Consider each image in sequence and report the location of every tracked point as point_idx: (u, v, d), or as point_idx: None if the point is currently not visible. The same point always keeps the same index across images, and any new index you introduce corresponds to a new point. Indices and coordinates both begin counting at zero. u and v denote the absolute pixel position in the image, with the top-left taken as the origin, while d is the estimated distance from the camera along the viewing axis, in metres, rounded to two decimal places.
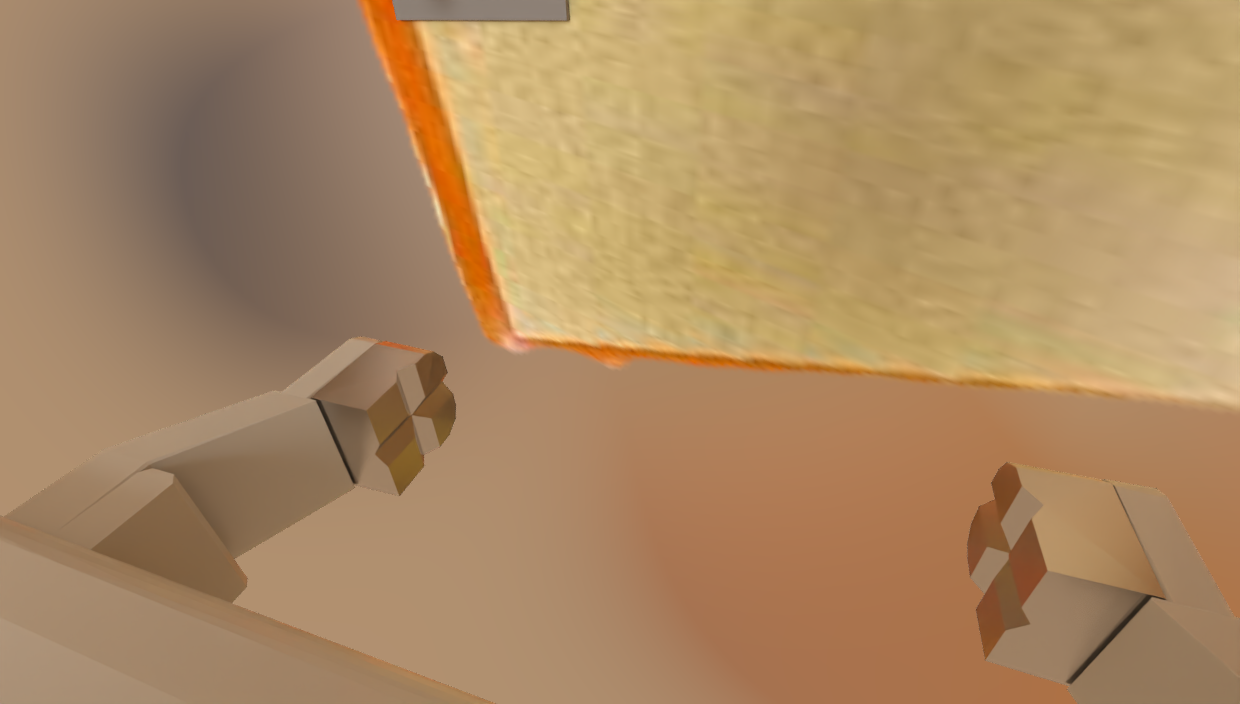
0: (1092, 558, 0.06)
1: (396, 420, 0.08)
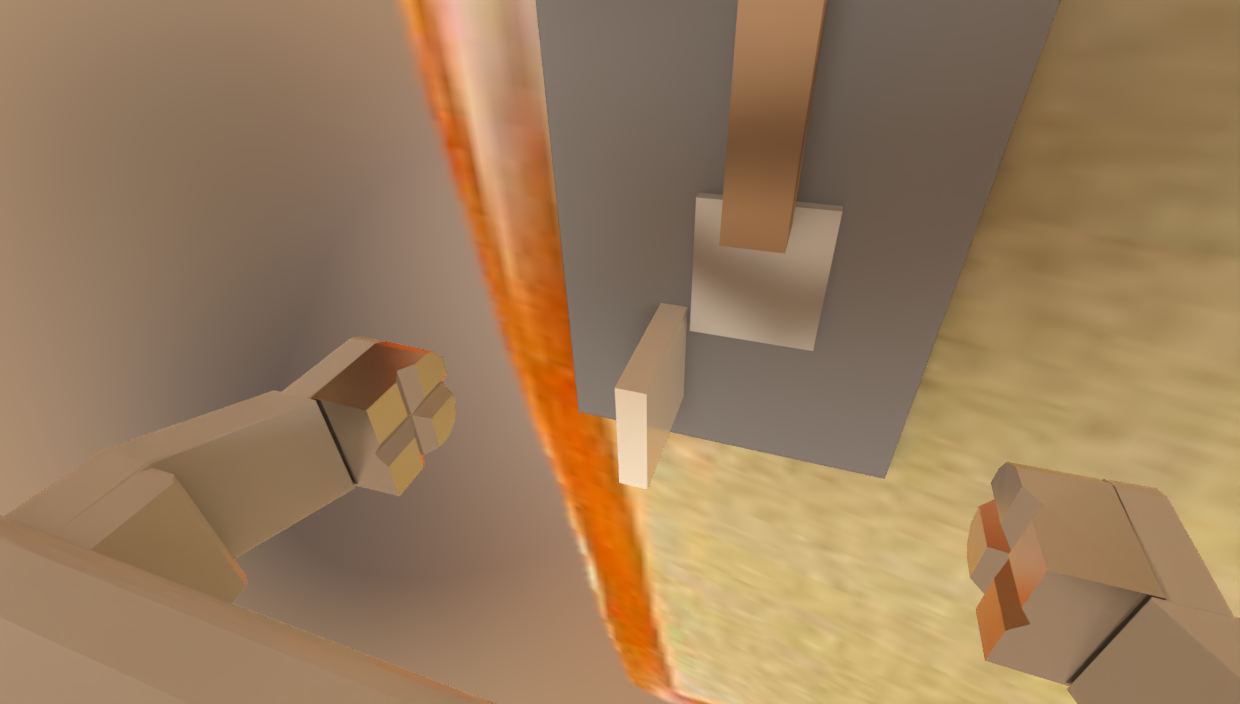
0: (1093, 558, 0.06)
1: (396, 420, 0.08)
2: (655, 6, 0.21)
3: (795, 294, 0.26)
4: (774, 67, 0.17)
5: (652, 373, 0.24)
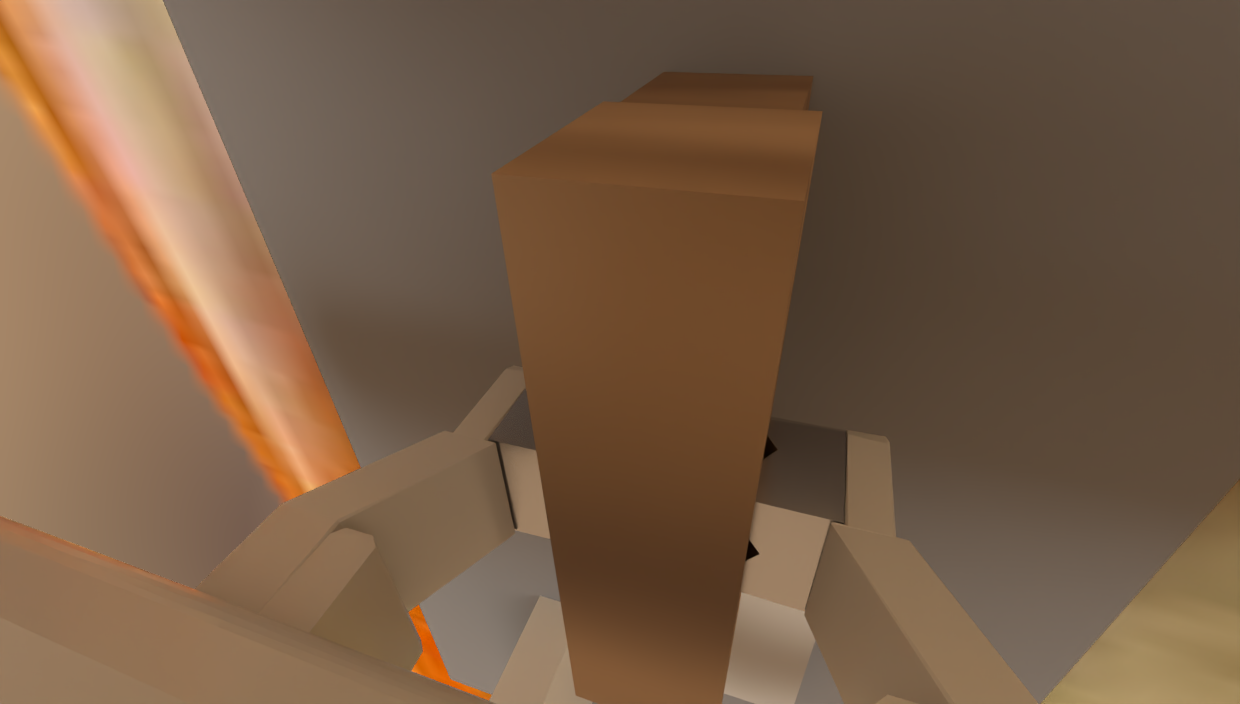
0: (797, 491, 0.06)
1: None
2: (440, 175, 0.10)
3: (756, 646, 0.14)
4: (644, 464, 0.06)
5: None
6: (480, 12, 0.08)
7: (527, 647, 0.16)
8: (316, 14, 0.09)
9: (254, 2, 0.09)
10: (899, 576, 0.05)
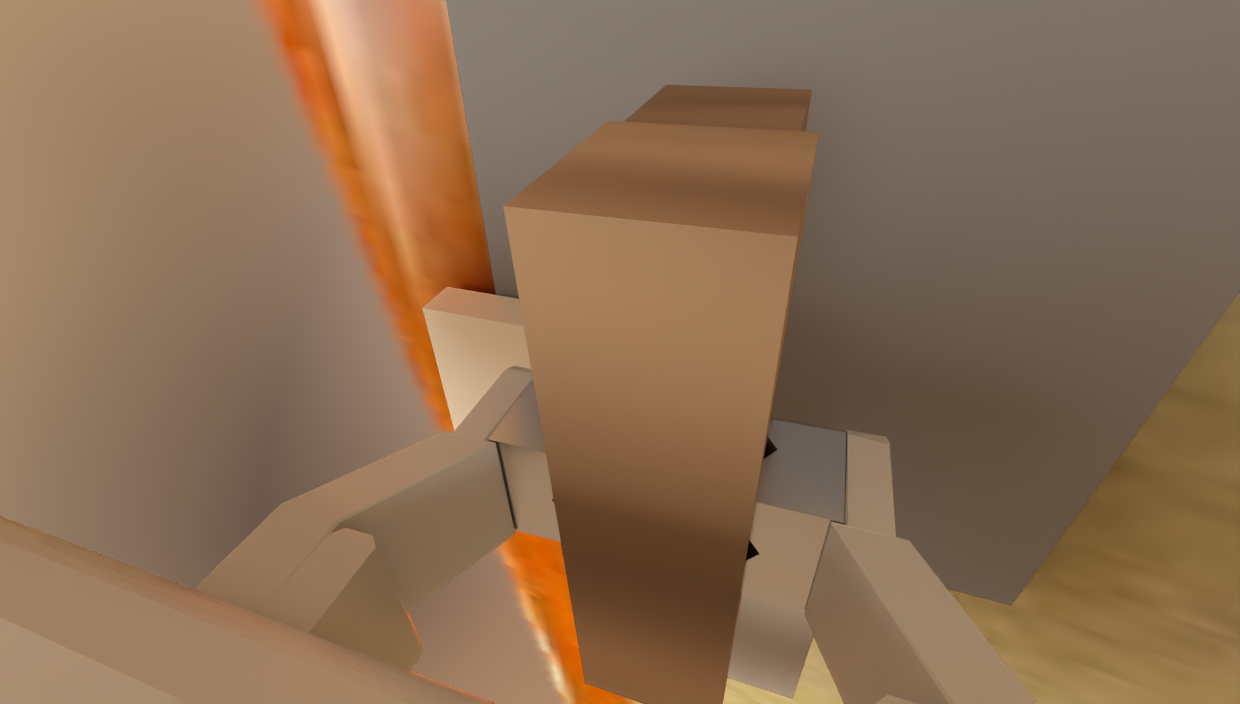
0: (797, 491, 0.06)
1: None
2: None
3: (759, 634, 0.15)
4: (649, 472, 0.06)
5: (462, 312, 0.18)
6: None
7: None
8: None
9: None
10: (898, 576, 0.05)
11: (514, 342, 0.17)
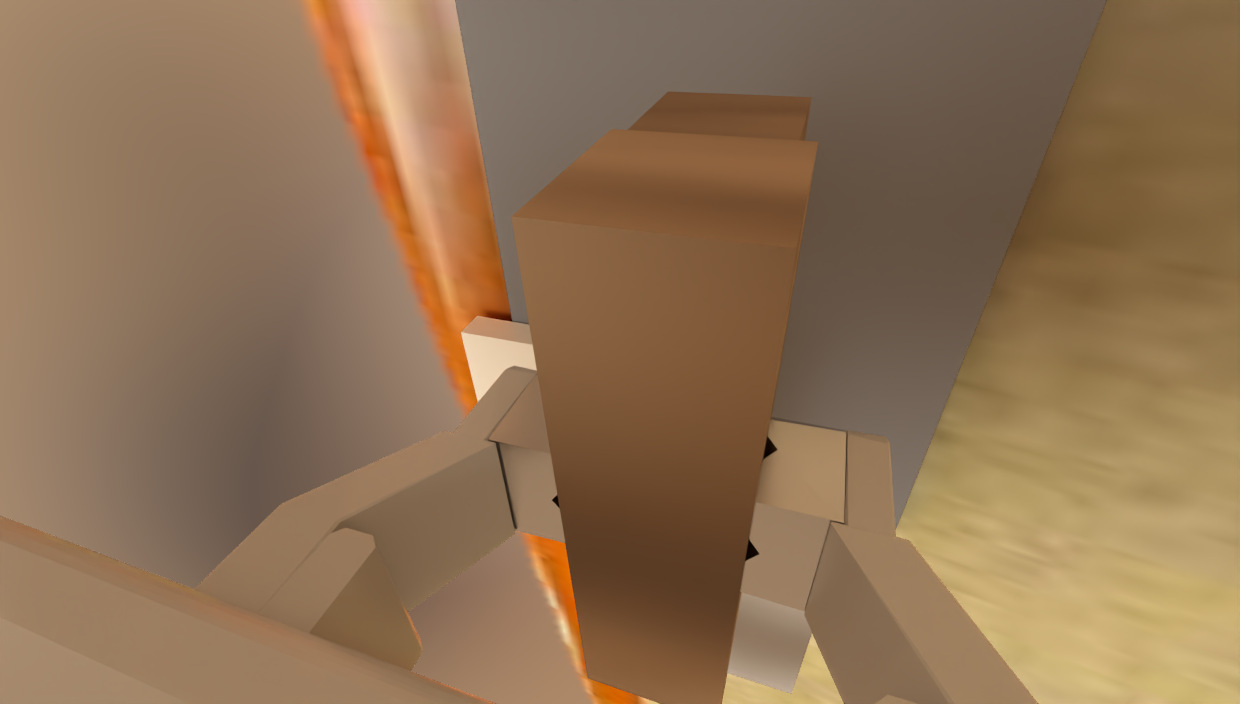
0: (797, 491, 0.06)
1: None
2: None
3: (758, 630, 0.15)
4: (652, 473, 0.06)
5: (489, 334, 0.25)
6: None
7: None
8: None
9: None
10: (899, 576, 0.05)
11: (526, 355, 0.25)
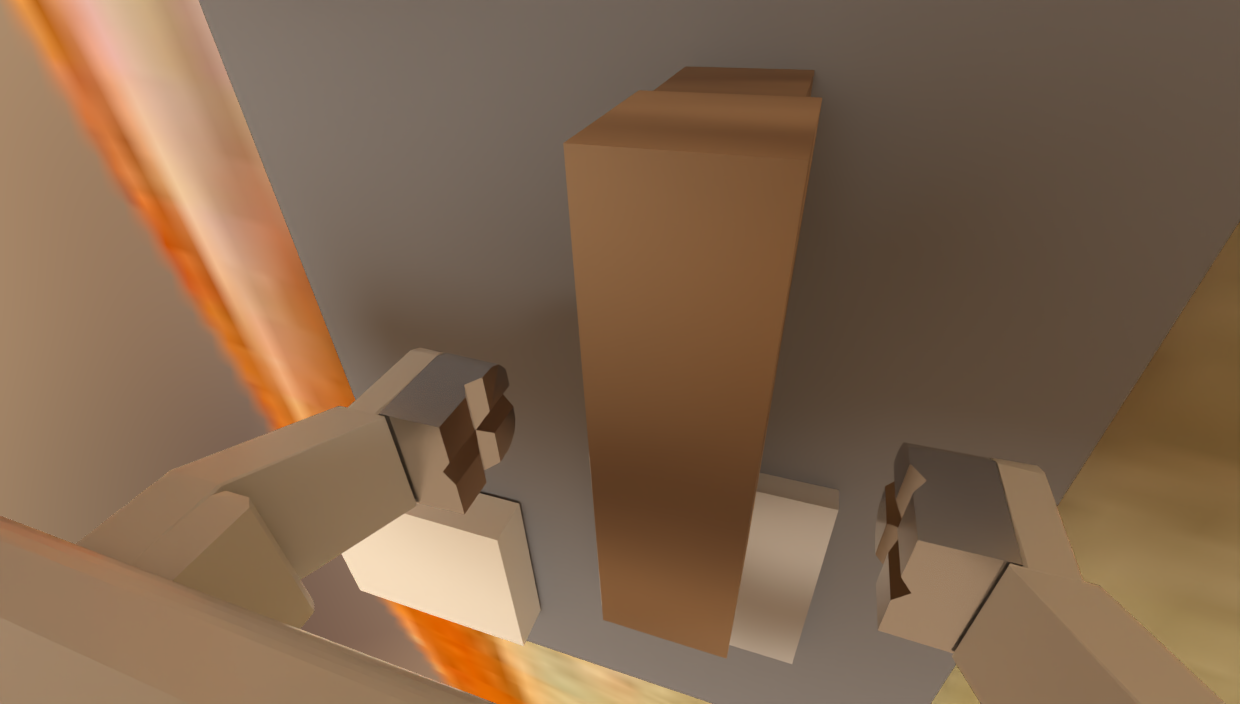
0: (961, 529, 0.06)
1: (464, 436, 0.08)
2: (411, 15, 0.10)
3: (761, 596, 0.15)
4: (675, 388, 0.07)
5: None
6: None
7: None
8: None
9: None
10: (1103, 628, 0.05)
11: (392, 522, 0.18)
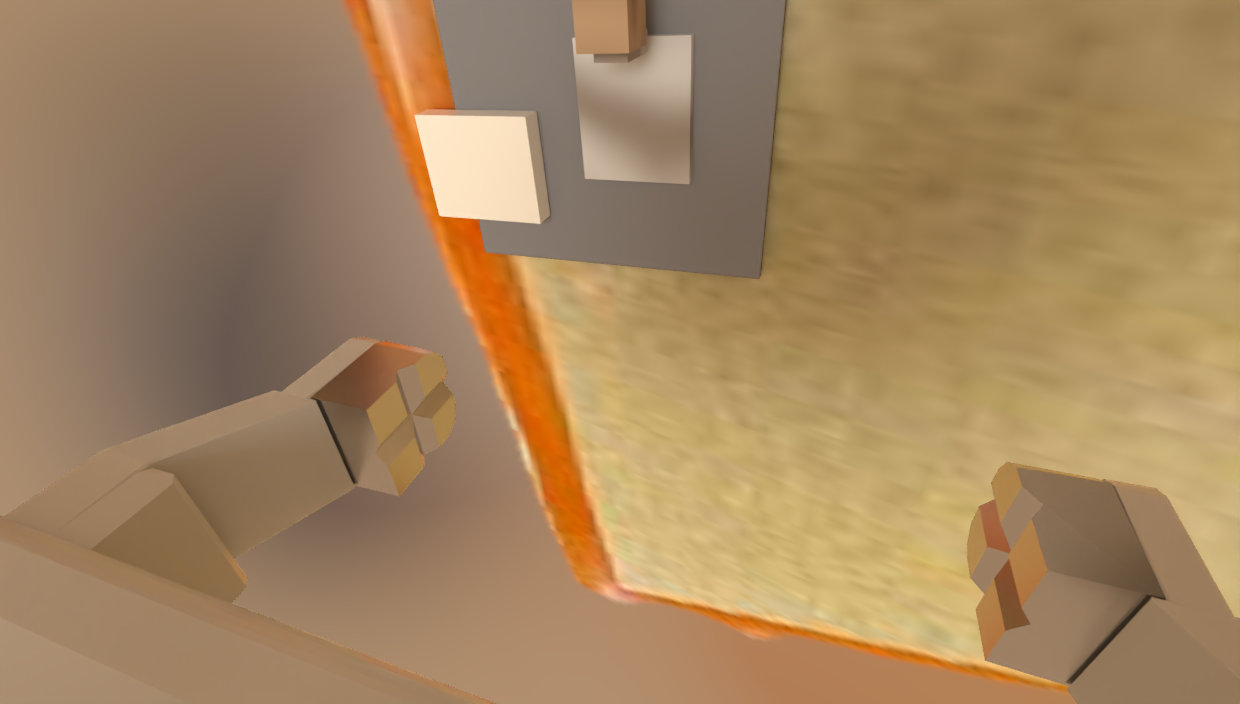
0: (1092, 558, 0.06)
1: (396, 420, 0.08)
2: None
3: (666, 126, 0.29)
4: None
5: (436, 114, 0.32)
6: None
7: (508, 111, 0.31)
8: None
9: None
10: None
11: (464, 128, 0.32)
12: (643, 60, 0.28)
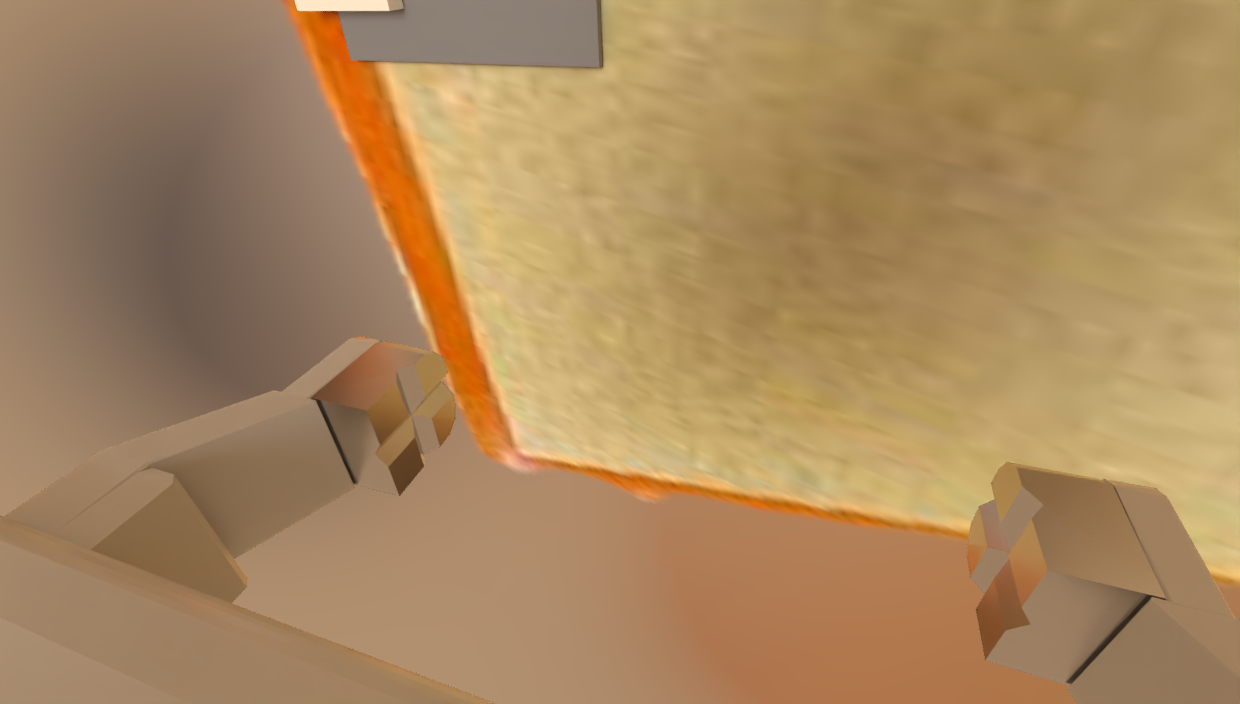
0: (1093, 558, 0.06)
1: (396, 420, 0.08)
2: None
3: None
4: None
5: None
6: None
7: None
8: None
9: None
10: None
11: None
12: None
